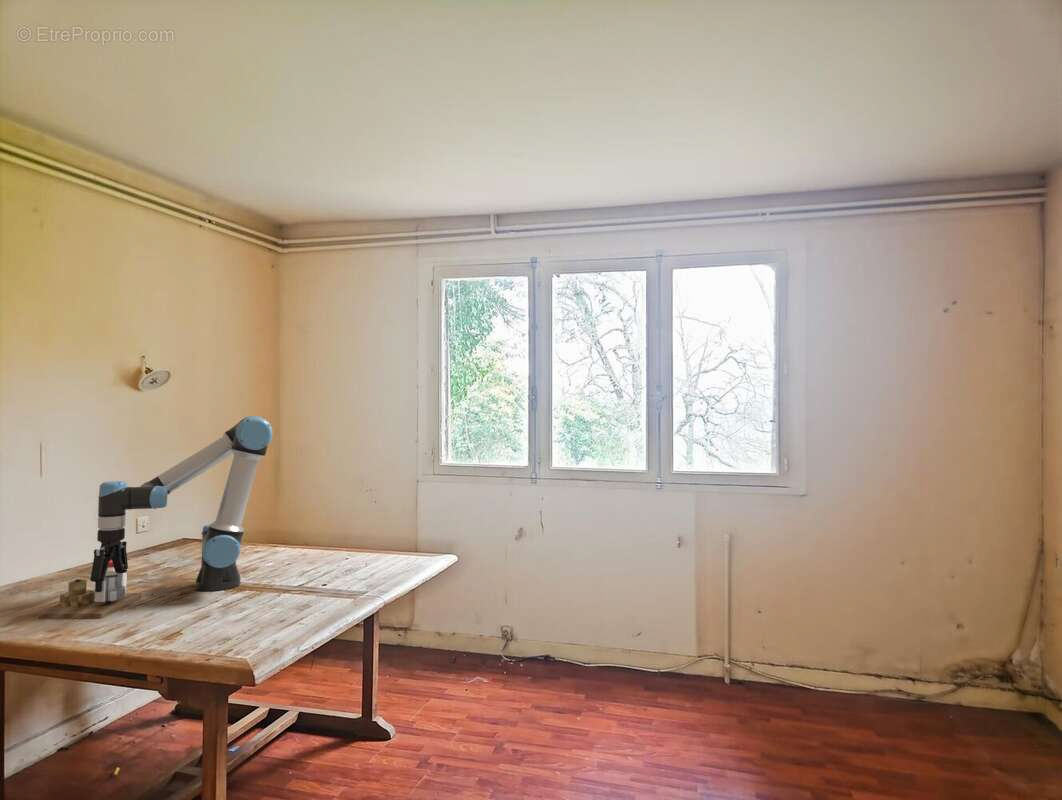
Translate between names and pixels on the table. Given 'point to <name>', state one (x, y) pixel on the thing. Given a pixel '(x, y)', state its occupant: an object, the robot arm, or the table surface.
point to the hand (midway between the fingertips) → (109, 597)
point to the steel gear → (112, 588)
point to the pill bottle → (111, 572)
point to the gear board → (90, 608)
